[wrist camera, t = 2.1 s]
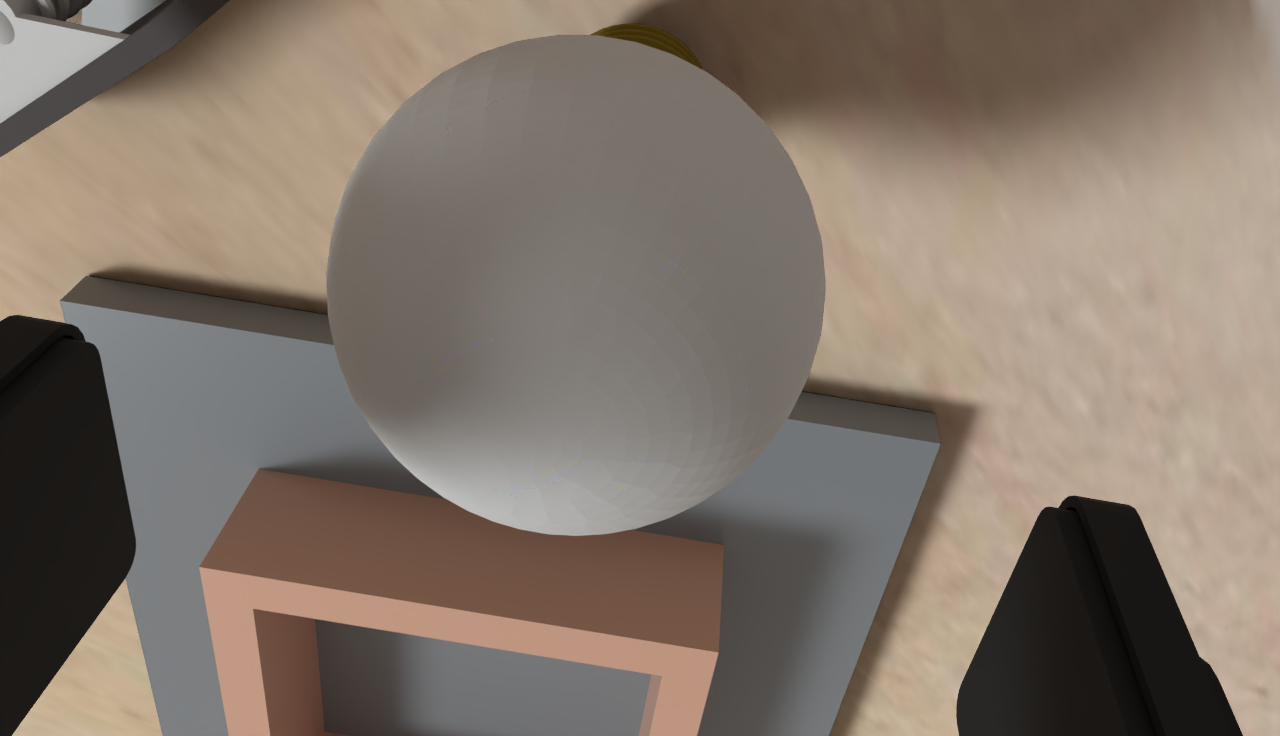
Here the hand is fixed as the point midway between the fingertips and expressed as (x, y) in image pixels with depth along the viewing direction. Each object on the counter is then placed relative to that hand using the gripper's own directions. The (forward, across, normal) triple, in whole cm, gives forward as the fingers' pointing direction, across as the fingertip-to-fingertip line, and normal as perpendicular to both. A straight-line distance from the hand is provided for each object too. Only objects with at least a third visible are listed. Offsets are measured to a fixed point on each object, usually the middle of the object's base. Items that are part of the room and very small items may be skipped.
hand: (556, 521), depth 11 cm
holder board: (+11, +2, +14) cm, 18 cm away
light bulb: (+10, 0, -1) cm, 10 cm away
